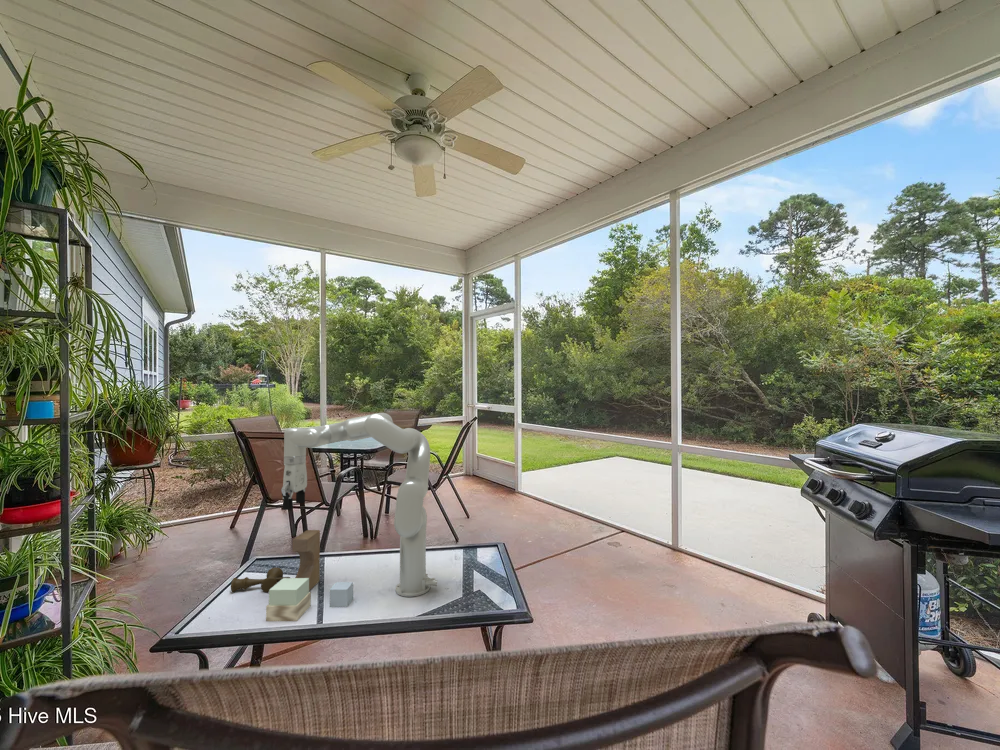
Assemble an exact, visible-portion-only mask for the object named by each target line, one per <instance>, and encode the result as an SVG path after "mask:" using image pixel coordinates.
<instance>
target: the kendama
mask: <svg viewBox="0 0 1000 750" xmlns="http://www.w3.org/2000/svg"><path fill="white" fill-rule="evenodd" d="M265 577H266V578H249V577H248V576H246V577H243V578H237V577H233V578H232V580H231V583H230V591H231V592H230V593H232V592H234V593H235V592H237V591H239V590H240V591H241V590H244V591H246V590H247V589H248V588H251V587H254V586H258V585H260V589H261V591H262V592H264V593H269V590H270V589H271V588H272V587H273V586H274V585H276V584H277V583H278V582H279V581H281V580H282V579H283V578H291V577H290V576H285V577H284V572H283V569H282V568H280V567H277V566H276V567H271V568H270V569H269V570H268V571H267V573H266V576H265Z"/></svg>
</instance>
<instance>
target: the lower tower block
mask: <svg viewBox="0 0 1000 750" xmlns="http://www.w3.org/2000/svg"><path fill="white" fill-rule="evenodd" d="M311 597H312V593H311V591H309V593H308V594H307V595H306V596H305V597H304V598H303V599H302V600H301V601H300V602H299V603H298V604H297V605H296V606H269V604H267V605H266V607H265V608H266V609H265V611H266V612H265V613H266V614H265V619H266V620H265V622H298V620H300V618H301V617H302V616H303V615H304V614H305V612H307V611H308V610H309V608H311V606H312V604H311V603H312V600H311V599H312V598H311Z"/></svg>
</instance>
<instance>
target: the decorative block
mask: <svg viewBox="0 0 1000 750" xmlns="http://www.w3.org/2000/svg"><path fill="white" fill-rule="evenodd" d="M320 546H321V531H320V530H319V529H306V530H305V531H303V532H302V533H300V534H299V535H297V536H296V537H294V538H293V539H292V553H298V555H299V566H298V570H297V573H296V576H295V577H294V578H309V592H311V590H312V589H313V588H314V587H315V586H316V585H317V584H318V583H319V582H320V571H321V570H320V565H321V563H320V561H321V560H320V558H321V557H320V556H321V552H320V551H321V547H320Z"/></svg>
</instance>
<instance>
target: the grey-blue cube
mask: <svg viewBox="0 0 1000 750" xmlns="http://www.w3.org/2000/svg"><path fill="white" fill-rule="evenodd" d="M353 599H354V581H336V582H335V583H334V584H333V585H332V586H331V588H330V589H329V608H348V606H350V604H351V602H352V601H353Z"/></svg>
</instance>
